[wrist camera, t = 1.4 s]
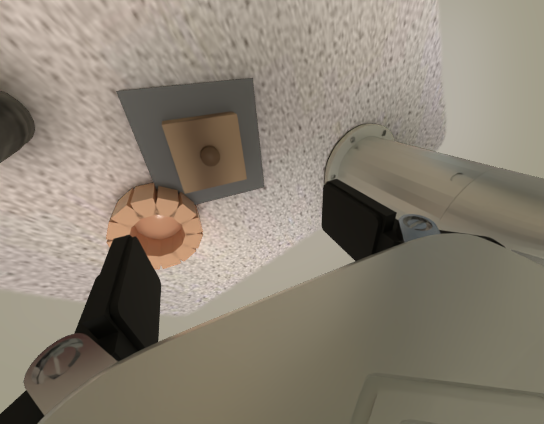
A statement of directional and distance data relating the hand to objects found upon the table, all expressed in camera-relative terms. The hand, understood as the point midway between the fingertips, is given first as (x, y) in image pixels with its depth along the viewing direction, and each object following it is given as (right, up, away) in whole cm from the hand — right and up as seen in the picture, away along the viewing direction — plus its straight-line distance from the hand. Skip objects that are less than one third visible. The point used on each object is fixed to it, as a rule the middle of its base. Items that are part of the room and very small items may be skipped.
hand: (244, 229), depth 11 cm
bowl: (-12, 0, +15) cm, 19 cm away
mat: (-6, +8, +13) cm, 16 cm away
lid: (-6, +7, +12) cm, 15 cm away
